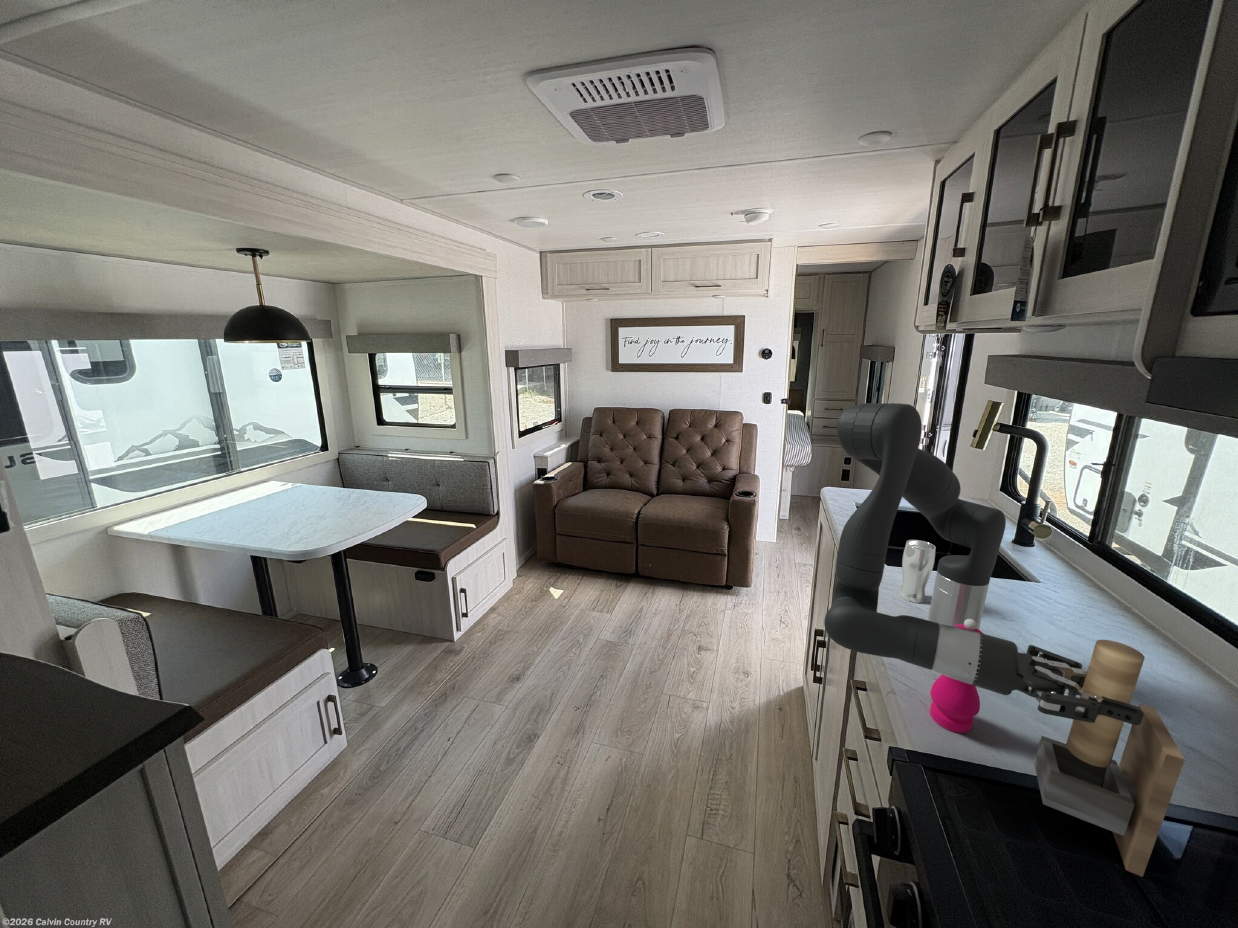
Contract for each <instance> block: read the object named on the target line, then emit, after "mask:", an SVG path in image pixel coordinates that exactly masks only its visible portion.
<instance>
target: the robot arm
mask: <svg viewBox="0 0 1238 928" xmlns="http://www.w3.org/2000/svg"><path fill="white" fill-rule="evenodd" d="M922 427H923V426H922V418H921V416H920V413H919V411H918V410H917V409H916V408H915V406H913V405H911V404H907V403H872V402H871V403H870V402H868V403H867V402H865V403H857V404H854V405H851V406H849V407H847V408H845V409H844V410H843V412H841V414H840V415H839V417H838V420H837V423H836V435H837V439H838V442H839V444H840V446H841V448H842V449H843V450H844V452H845V453H846V454H847V455H848V456H850V457H851V458H852V459H855V461H857V462H859V463H861V464H862V465H864V466H865V467H867V468H868V469H870V470H871V471H872V472H874V473H876V474H877V476H878V479H877V480H876V483H875V485H874V487H873V488H872V490H871V491H870V493H869V494H868V495H867V497H866V498H865V499H864V500H863V502H862V503H860V505H859V506H858V507H857V508H856V509H855V511H853V513H852V514H851V515H850V517H849V519H847V521H846V522H845V524H844V527H843V529H842V530H841V535H840V538H839V541H838V542H839V543H838V549H837V556H836V560H835V572H834V573H835V578H836V582H835V586H834V593H833V598H832V602H831V606H830V608H829V609H828V610H827V612H826V614H825V616H824V622H823V623H824V624H823V625H824V629H825V632H826V634H827V635H828V637H829V638H830V639H831V640H832V641H833V643H835V644H837V645H838V646H840V647H842V648H845V649H847V650H849V651H853V652H856V653H861V654H865V655H870V656H871V655H872V656H877V657H883V658H890V659H897V660H901V661H903V662H905V663H908V664H910V665H914V666H917V667H921V668H923V669H926V670H930V671H934V672H935V673H938V674H941V675H945V676H947V677H949V678H952V679H955V680H958V681H961V682H965V683H968V684H971V685H974V686H976V688H980V689H984V690H987V691H991V692H994V693H997V694H999V695H1002V696H1009V695H1011V694H1012V693H1013V691H1018V692H1020V693H1023V694H1025V695H1027V696H1029V697H1031V698H1034V699H1035V700H1036V701H1037V702H1038V705H1037V711H1039V712H1040V713H1042V714H1044V715H1048V716H1053V717H1060V718H1066V719H1070V720H1073V719H1074V720H1080V721H1085V722H1090V723H1095V720H1096V718H1097V716H1098V715H1104V716H1107V717H1110V718H1114V719H1117V720H1120V721H1123V722H1124V723H1127V724H1130V725H1132V724H1133V725H1140V724H1141V722H1142V719H1143V716H1144V713H1143V711H1142V709H1141V708H1139V707H1138V705H1134V704H1131V703H1130V704H1127V703H1124V702H1120V701H1116V700H1113V699H1109V698H1107V697H1103V696H1102V697H1101V696H1099V695H1097V694H1094V693H1092V692H1089V691H1087V690H1084V689H1082V688H1083V685H1084V681H1085V678H1086V675H1087V671H1088V669H1083V664H1082V663H1081V662H1078V661H1077V660H1073V659H1072V658H1071V659H1070V658H1068V657H1066V656H1063V655H1061V654H1060V655H1059V654H1056V653H1054V652H1052V651H1049V650H1046V649H1044V648H1041V647H1038V646H1036V645H1032V644H1029V645H1028V646H1027V650H1026V653H1025V652H1019V648H1018V646H1017V644H1016V643H1015V642H1013V641H1011V640H1008V639H1005V638H1001V637H997V636H994V635H993V636H992V635H991V634H985V633H983V632H982V633H983V634H982V633H979V632H975V631H971V630H968V629H964V628H960V627H955V626H954V625H958V624H964V622H965V620H967V619H972V620H974V621H975V622H976V624H977V627H976V628H977V629H979V630H980V627H981V622H982V619H983V614H984V610H985V604H986V600H987V595H988V591H989V586H990V581H991V577H992V574H993V572H994V569H995V565H996V562H997V558H998V554H999V551H1000V547H1001V545H1002V541H1003V538H1004V534H1005V530H1006V526H1007V525H1006V524H1007V523H1006V522H1007V519H1006V516H1005V514H1004V512H1003V511H1002V510H1000V509H998V508H995V507H991V506H987V505H983V504H979V503H977V502H971V501H968V500H965V499H961V498H959V497H960V495H961V489H962V488H961V483H960V481H959V479H958V476H957V475H956V474H955V473H954V472H953V470H952V469H951V468H950V467H949V466H948V465H947V464H946V463H945V461H943V460H942V459H941V458H939V457H938V456H936V455H935V454H933V453H930V452H928V451H926V450H923V449H921V448H919V447H920V442H921V439H922ZM902 498H903V499H904V500H905V501H906V502H907V503H908V504H910V505H911V506H912V507H913V508H915V509H916V510H917V511H918V512H919V513H920V514H921V515H923V516H924V517H925V519H927V521H928V523H930V525H931V526H932V527H933V529H934V530H935V531H936V532H937V534H938V535H939V536H940V537H941V538H942V539H944V540H946V541H948V542H951V543H954V544H958V545H960V546H962V547H965V548H969V549H970V553H969V554H968V555H962V554H961V555H960V554H959V555H957V554H954V555H953V554H952V555H951V554H949V555H945V556H942V557H941V558H940V559H939V560H938V564H937V569H936V573H935V575H936V576H935V578H934V579H935V580H934V581H935V582H934V584H933V591H932V597H931V601H930V607H929V611H928V616H927V619H923V618H922V617H921V618H919V617H916V616H912V615H908V614H906V615H905V614H901V615H897V616H895V615H889V614H886V613H882V612H878V605H879V604H878V603H879V592H880V585H881V582H882V580H883V576H884V570H885V564H886V558H887V553H888V545H889V541H890V536H891V532H892V529H893V525H894V523H895V522H894V521H895V518H896V515H897V513H898V510H899V507H900V504H901V501H902ZM1066 690H1068V693H1067V695H1065V693H1066ZM1077 696H1079V697H1077ZM1080 696H1082V697H1084V698H1087V699H1083V698H1080ZM1076 709H1078V710H1081V711H1083V712H1079V711H1076Z"/></svg>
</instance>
